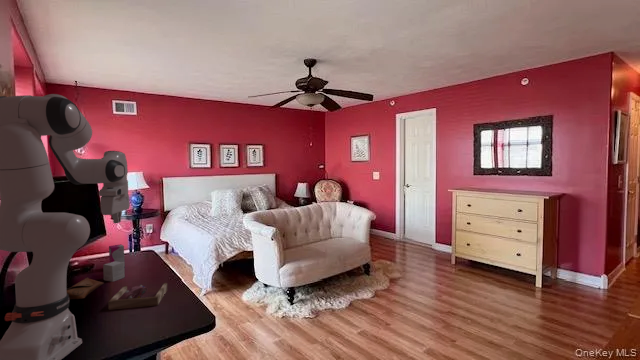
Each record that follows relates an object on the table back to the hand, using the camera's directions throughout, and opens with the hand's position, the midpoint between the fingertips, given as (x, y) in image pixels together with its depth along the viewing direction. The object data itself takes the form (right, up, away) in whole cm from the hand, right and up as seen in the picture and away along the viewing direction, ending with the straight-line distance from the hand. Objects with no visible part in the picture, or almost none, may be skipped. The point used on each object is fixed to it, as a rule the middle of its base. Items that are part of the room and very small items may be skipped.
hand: (117, 222), depth 138 cm
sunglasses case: (-13, -29, -1) cm, 32 cm away
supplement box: (-19, -27, +30) cm, 45 cm away
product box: (-10, -28, +14) cm, 33 cm away
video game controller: (+13, -29, -12) cm, 34 cm away
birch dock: (+15, -29, -10) cm, 34 cm away
